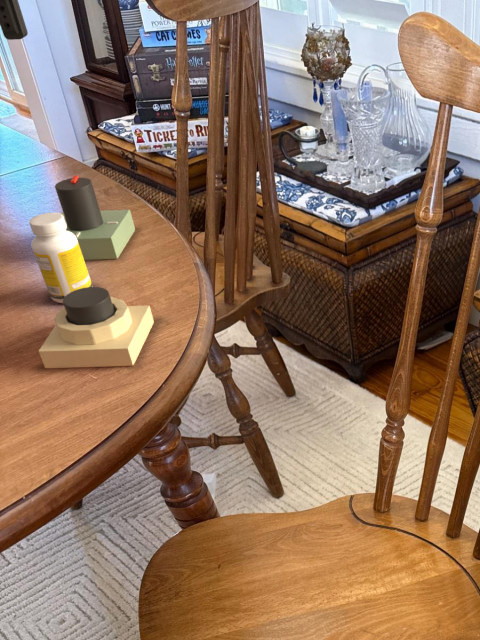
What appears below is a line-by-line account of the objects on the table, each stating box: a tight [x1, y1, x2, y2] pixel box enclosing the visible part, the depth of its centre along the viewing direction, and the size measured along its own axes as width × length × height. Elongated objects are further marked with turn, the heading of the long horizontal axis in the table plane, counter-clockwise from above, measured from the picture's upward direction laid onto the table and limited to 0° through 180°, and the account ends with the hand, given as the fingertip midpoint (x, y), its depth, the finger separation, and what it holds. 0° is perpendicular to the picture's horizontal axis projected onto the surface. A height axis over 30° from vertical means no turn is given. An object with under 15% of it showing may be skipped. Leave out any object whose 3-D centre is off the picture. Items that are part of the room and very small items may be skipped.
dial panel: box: [60, 209, 136, 261], centre depth 111 cm, size 10×10×3 cm
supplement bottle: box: [28, 212, 94, 304], centre depth 97 cm, size 5×5×10 cm
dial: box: [54, 174, 103, 231], centre depth 108 cm, size 5×5×6 cm
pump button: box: [62, 286, 115, 325], centre depth 88 cm, size 5×5×2 cm
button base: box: [38, 296, 155, 369], centre depth 90 cm, size 10×10×4 cm
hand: (16, 37), depth 88 cm, fingers closed
